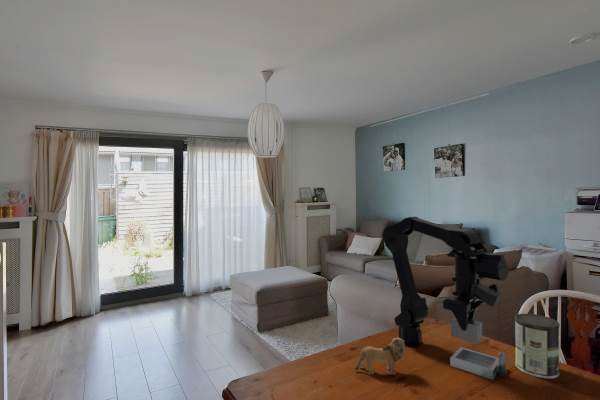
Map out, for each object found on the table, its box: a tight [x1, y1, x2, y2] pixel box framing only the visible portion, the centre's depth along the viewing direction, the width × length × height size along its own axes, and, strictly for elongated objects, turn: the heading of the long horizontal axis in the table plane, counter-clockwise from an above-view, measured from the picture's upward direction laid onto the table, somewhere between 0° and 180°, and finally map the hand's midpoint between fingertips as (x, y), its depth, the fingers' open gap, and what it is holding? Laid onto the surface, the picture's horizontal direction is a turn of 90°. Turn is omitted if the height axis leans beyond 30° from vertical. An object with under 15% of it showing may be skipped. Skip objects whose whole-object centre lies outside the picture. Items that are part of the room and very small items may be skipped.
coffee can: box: [514, 313, 560, 380], centre depth 94 cm, size 10×10×14 cm
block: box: [450, 316, 483, 345], centre depth 96 cm, size 7×4×5 cm, turn 44°
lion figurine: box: [354, 337, 406, 375], centre depth 95 cm, size 15×5×9 cm, turn 95°
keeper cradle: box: [449, 346, 507, 381], centre depth 95 cm, size 13×9×6 cm
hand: (466, 328), depth 96 cm, fingers closed on block, 4 cm apart
